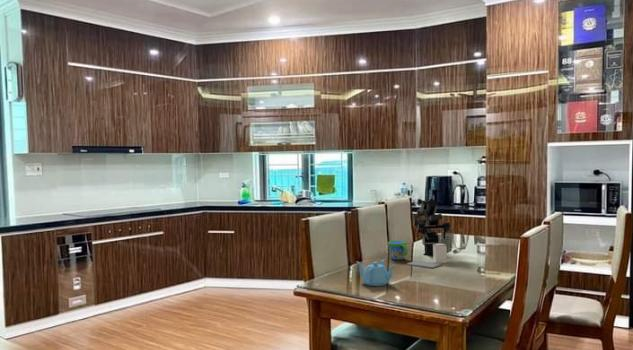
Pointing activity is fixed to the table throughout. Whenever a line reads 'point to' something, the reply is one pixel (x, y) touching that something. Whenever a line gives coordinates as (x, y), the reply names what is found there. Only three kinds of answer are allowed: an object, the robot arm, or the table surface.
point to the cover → (440, 253)
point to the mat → (424, 264)
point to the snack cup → (397, 249)
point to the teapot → (375, 274)
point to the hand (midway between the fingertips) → (436, 238)
